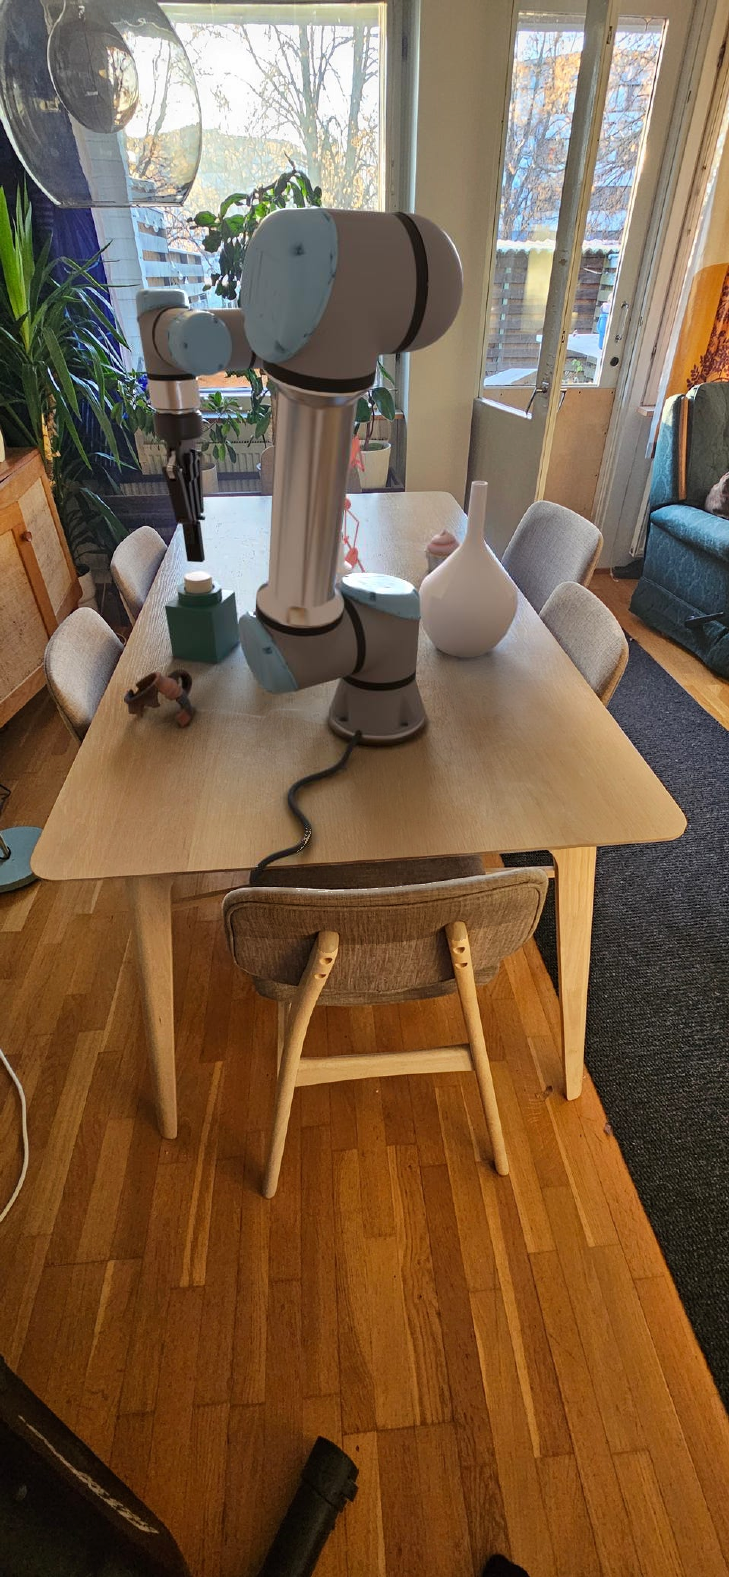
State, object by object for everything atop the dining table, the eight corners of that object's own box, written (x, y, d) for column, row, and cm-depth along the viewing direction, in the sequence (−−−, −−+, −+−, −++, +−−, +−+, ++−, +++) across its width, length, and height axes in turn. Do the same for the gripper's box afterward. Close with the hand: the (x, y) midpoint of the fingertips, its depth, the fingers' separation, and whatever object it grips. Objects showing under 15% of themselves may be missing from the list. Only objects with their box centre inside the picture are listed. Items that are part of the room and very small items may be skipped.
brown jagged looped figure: (177, 740, 111) (142, 700, 107) (142, 746, 117) (107, 708, 113) (217, 689, 118) (185, 650, 113) (182, 697, 124) (151, 660, 120)
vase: (521, 667, 131) (548, 497, 114) (421, 669, 130) (433, 498, 112) (499, 625, 146) (520, 469, 128) (409, 627, 145) (418, 470, 127)
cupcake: (416, 567, 173) (419, 524, 167) (452, 563, 175) (456, 522, 169) (430, 580, 166) (433, 537, 160) (467, 577, 168) (472, 534, 162)
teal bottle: (217, 663, 131) (209, 600, 124) (172, 657, 133) (162, 594, 126) (239, 641, 139) (233, 580, 132) (197, 635, 141) (189, 575, 133)
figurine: (353, 549, 183) (353, 394, 162) (376, 585, 163) (380, 414, 142) (293, 552, 180) (285, 395, 159) (309, 590, 160) (303, 416, 139)
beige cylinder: (205, 596, 126) (204, 582, 125) (181, 593, 128) (179, 579, 126) (217, 586, 130) (215, 572, 129) (193, 583, 131) (191, 569, 130)
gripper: (168, 402, 117) (187, 547, 131) (137, 416, 107) (162, 572, 121) (212, 404, 116) (227, 549, 130) (185, 417, 106) (205, 574, 120)
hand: (196, 560), depth 126 cm, fingers closed
